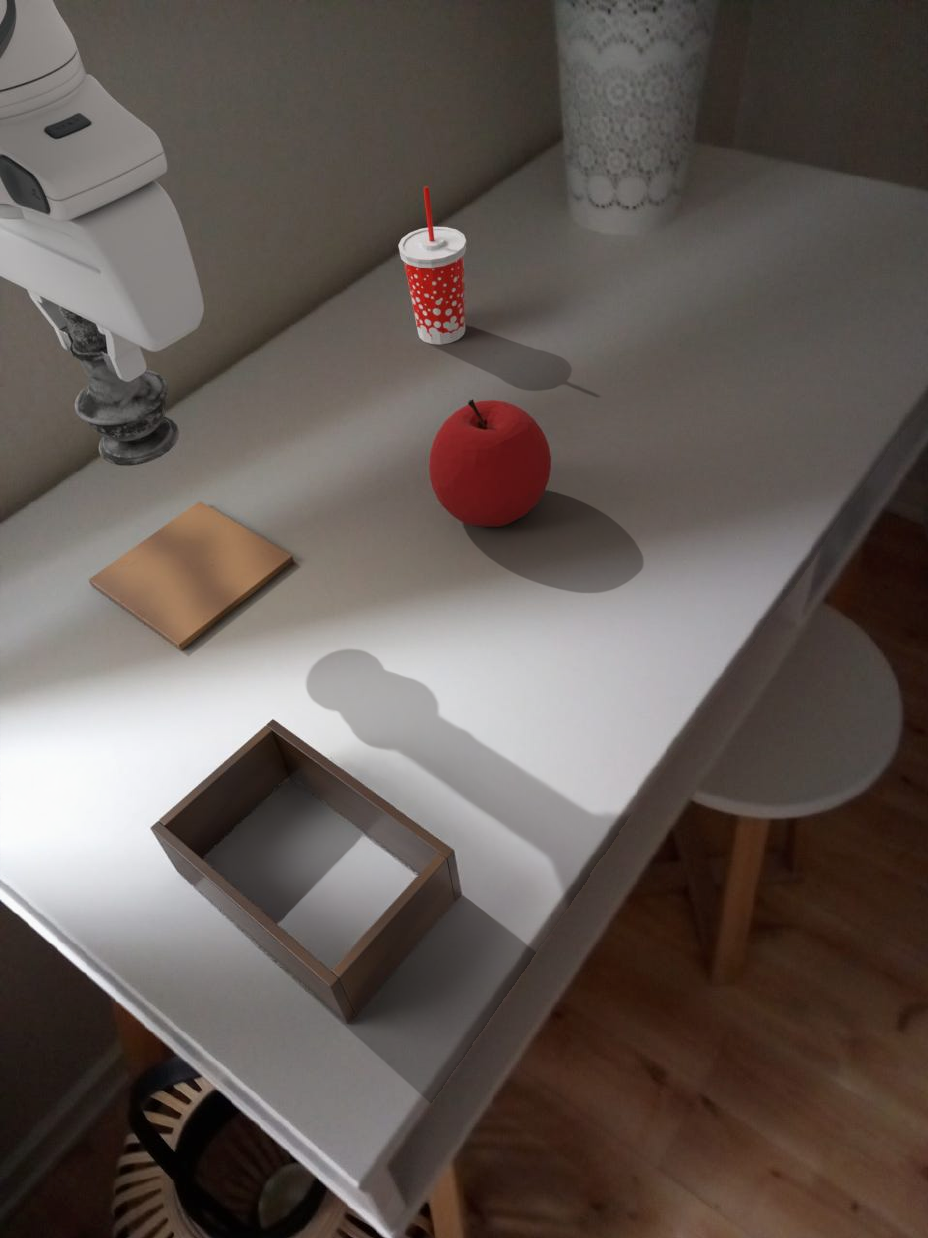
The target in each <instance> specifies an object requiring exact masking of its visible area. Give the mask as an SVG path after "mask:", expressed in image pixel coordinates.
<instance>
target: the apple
mask: <svg viewBox="0 0 928 1238" xmlns="http://www.w3.org/2000/svg"><path fill="white" fill-rule="evenodd" d="M551 456H552V455H551V450H550V444H549V442H548V440H547V437H546V435H545V433H544V431H543V429H542V428H541V426H540V425H539V424H538V423H537V422H536V420H535V419H534V417H532V416H531V415H530V413H528V412H527V411H526V410H524V409H522V408H521V407H519V406H517V405H515V404H513V403H510V402H507V401H502V400H495V399H489V400H488V399H487V400H479V401H474V399H473V398H472V399H470V400H468V401H467V405H465V406H463V407H461V408H460V409H457V410H456V411H455V412H454V413H452V414H451V415H449V417H448V418H446V420H444V422H443V424H442V425H441V426H440V428H439V429H438V430H437V433H436V435H435V437H434V439H433V442H432V445H431V449H430V454H429V465H428V470H429V471H428V472H429V480H430V483H431V488H432V490H433V492H434V494H435V496H436V499H437V500H438V502H439V503H440V505H441V507H443V508H444V509H445V511H447V512H448V513H449V514H450V515H451V516H453V517H454V518H455V519H457V520H458V521H459V522H462V523H464V524H466V525H470V526H475V527H492V528H493V527H495V528H496V527H498V528H499V527H503V526H506V525H508V524H511V523H513V522H515V521H517V520H519V519H521V518H522V517H524V516H525V515H526V514H528V513H529V512H530V511H531V510H532V509H533V508H534V507H535V506H536V505H537V504H538V502H540V499H541V497H542V496H543V495H544V493H545V490H546V488H547V486H548V483H549V479H550V475H551V469H552V457H551Z"/></svg>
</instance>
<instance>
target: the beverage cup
mask: <svg viewBox="0 0 928 1238" xmlns="http://www.w3.org/2000/svg"><path fill="white" fill-rule="evenodd" d="M430 193H431V191H430V186H429V185H423V197H424V205H425V214H426V223H427V227H424V228H419V229H416V230H413V231H411V232H409V233H408V234H406V235H405V236H403V237H401V239H400V241H399V243H398V246H397V247H398V250H399V255H400V259H401V260H402V261H403V264H404V268H405V274H406V279H407V283H408V288H409V293H410V299H411V303H412V309H413V314H414V319H415V324H416V329H417V334H418V337H419V339H420V340H422V342H424V343H427V344H429V345H437V346H438V345H439V346H440V345H441V346H442V345H447V344H448V345H449V344H451V343H454V342H457V341H458V340H459V339H462V337H463V336H464V335H465V332H466V289H465V288H466V287H465V283H466V282H465V254H466V251H467V239H466V236H465V234H464V233H462V232H461V231H460V230H458V229H455V228H451V227H447V226H434V221H433V211H432V204H431V203H432V202H431V194H430Z"/></svg>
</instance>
